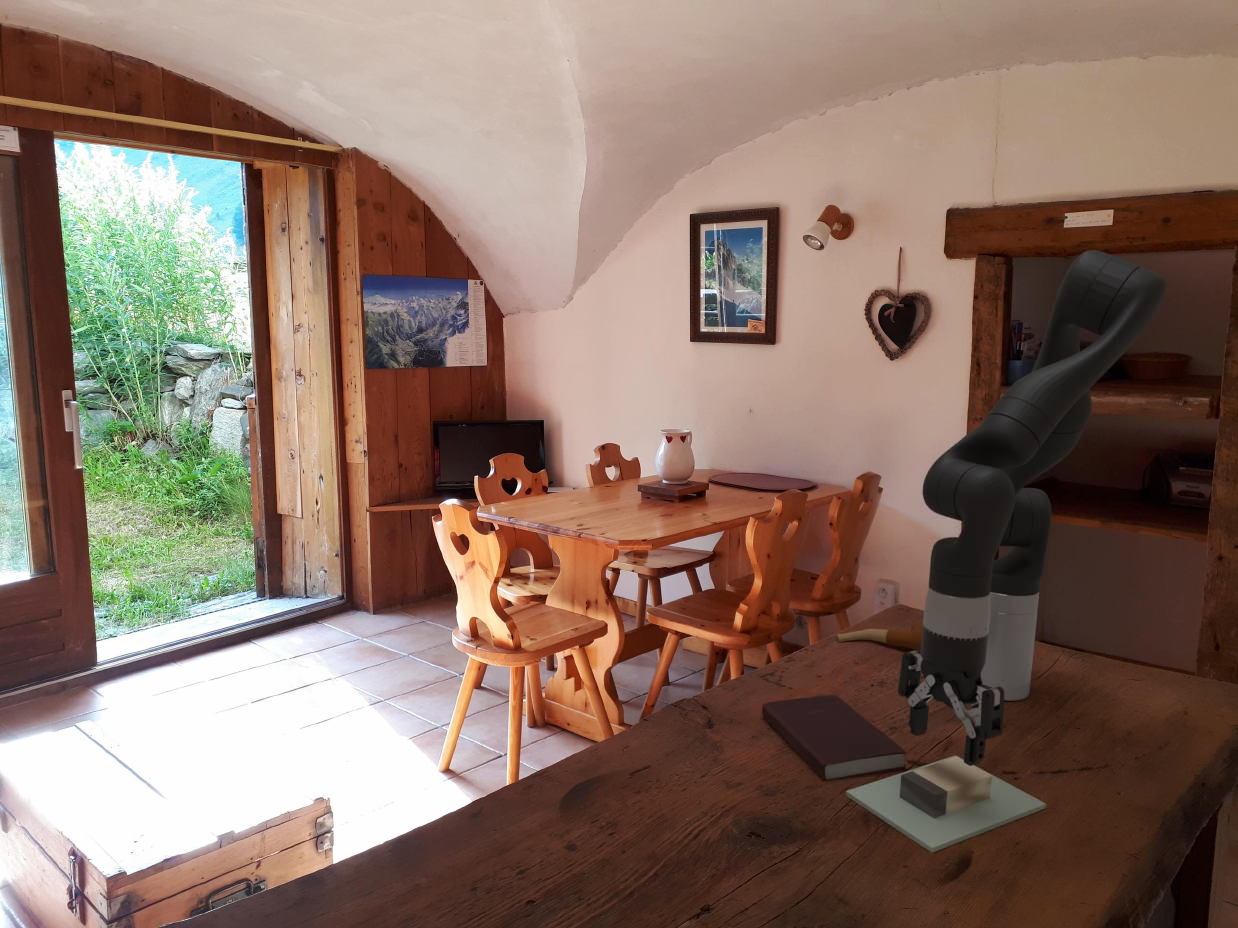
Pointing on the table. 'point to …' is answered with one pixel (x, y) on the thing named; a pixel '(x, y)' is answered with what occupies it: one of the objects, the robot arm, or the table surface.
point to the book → (833, 737)
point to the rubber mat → (948, 827)
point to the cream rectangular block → (945, 787)
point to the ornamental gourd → (889, 636)
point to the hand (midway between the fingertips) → (944, 747)
